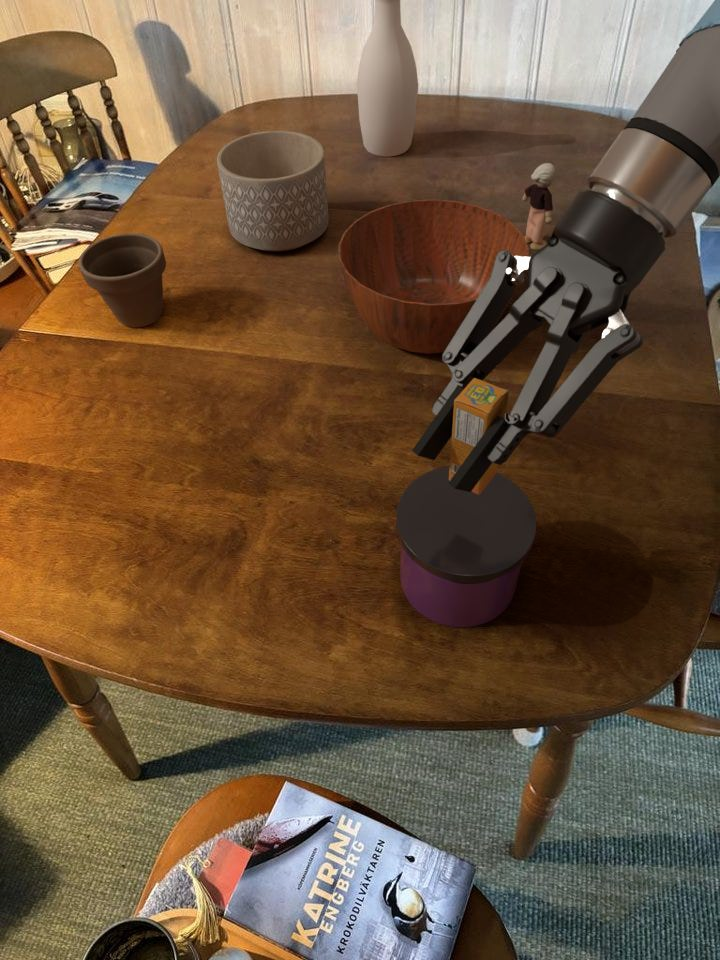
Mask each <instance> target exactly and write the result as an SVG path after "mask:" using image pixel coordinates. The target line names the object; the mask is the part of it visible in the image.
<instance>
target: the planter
mask: <svg viewBox="0 0 720 960" xmlns="http://www.w3.org/2000/svg"><path fill="white" fill-rule="evenodd" d="M216 165H217V170H218V175H219V181H220V187H221V191H222V192H221V193H222V197H223V202H224V208H225V213H226V220H227V226H228V230H229V233H230V235H231V236H232V238H233V239H235V240H236V242H238V243H240V244H242V245H244V246H246V247H249V248H252V249H255V250H260V251H263V252H286V251H291V250H292V251H293V250H295V249H298V248H302V247H303V246H305V245H308V244H309V243H312V242H313V241H315V240H317V239H318V238H319V237H320V236H322V235H323V234H324V232H325V231H326V230H327V229H328V228H327V227H328V226H329V208H328V207H329V206H328V205H329V204H328V192H327V191H328V189H327V175H326V161H325V152H324V147H323V145H322V143H320V141H318V140H317V139H316V138H314V137H312V136H310V135H307V134H305V133H301V132H297V131H292V130H291V131H290V130H263V131H258V132H253V133H249V134H246V135H242V136H240V137H237V138H235V139H233V140H231V141H229V142H228V143H226V144H225V145H224V146H223V147H221V149H220V150H219V152H218V154H217V156H216Z"/></svg>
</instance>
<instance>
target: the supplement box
mask: <svg viewBox="0 0 720 960" xmlns="http://www.w3.org/2000/svg"><path fill="white" fill-rule="evenodd" d="M509 395H510V391H509V390H508V389H506V388H503V387H499V386H497V385H495V384H492V383H490V382H487V381H485V380H483V381H482V380H479V379H477V378H474V379H473V380H472V381H471V382H470V383H469V384H468V385H467V386H466V388H465V389H464V390H463V391H462V392H461V393H460V394H459V396H458V397H457V398H456V399H455V400H454V413H453V427H452V436H451V441H450V443H451V444H450V457H449V466H450V470H449V481H450V480H451V479H452V477H453V476H454V475H455V473H456V472H457V470H458V469H459V468H460V466H461V465H462V464H463V462H464V461H465V459H466V458H467V457H468V455H469V454H470V453H471V451H472V450H473V448H474V447H475V446H476V444H477V443H478V442H479V440H480V439H481V437H482V436H483V435H484V433H485V432H486V431H487V429H488V428H489V426H490V425H491V424H492V422H493V421H494V420H495V418H496V417H497V415H498V416H500V417H502V418H504V419H505V413H506V414H507V408H508V403H509ZM498 467H499V464H496V463H492V464H491V465H490V467H489V468H488V469H487V471H486V472H485V473H484V475H483V476H482V478H481V479H480V480H479V482H478V483H477V484H476V486H475V487H474V488H473V490H472V491H471V492H473V493H475V494H477V495H480V494H481V492H482V491H483V490H484V489H485V487H486V486H487V485H488V483H489V482H490V481H491V479H492V478H493V477H494V475H495V474H496V473H498Z"/></svg>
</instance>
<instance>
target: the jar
mask: <svg viewBox="0 0 720 960" xmlns="http://www.w3.org/2000/svg"><path fill="white" fill-rule="evenodd" d="M449 470H450V465H447V466H446V465H445V466H441V467H437V468H434V469H432V470H429V471H427V472H425V473H423V474H421V475H419V476H418V477H417V478H415V479H414V480H413V481H411V483H410V484H409V485H408V486H407V487H406V488H405V490H404V491H403V492H402V494H401V495H400V498H399V500H398V503H397V507H396V516H395V526H396V533H397V538H398V540H399V542H400V557H399V559H400V561H399V563H400V564H399V579H400V586H401V589H402V592H403V594H404V596H405V598H406V599H407V601H408V603H409V604H410V605H411V606H412V608H414V609H415V610H416V612H418V613H419V614H420V615H422V616H423V617H424V618H426V619H428V620H430V621H432V622H434V623H437V624H439V625H442V626H446V627H452V628H472V627H477V626H481V625H484V624H486V623H488V622H490V621H493V620H494V619H496V618H497V617H499V616H500V615H501V614H502V613H503V612H505V610H506V609H507V608H508V607H509V605H510V604H511V602H512V600H513V598H514V596H515V592H516V588H517V584H518V580H519V577H520V574H521V573H520V572H521V569H522V565H523V562H524V561H525V560H526V559H527V558H528V555H529V554H530V552H531V550H532V548H533V545H534V542H535V538H536V533H537V524H538V523H537V516H536V513H535V508H534V506H533V505H532V502H531V500H530V499H529V497H528V496H527V494H526V493H525V492H524V491H523V490H522V489H521V487H520V486H518V485H517V484H516V482H514V481H512V480H511V479H510V478H508V477H506V476H504V475H503V474H502V473H499V472H497V473H496V474H495V475H494V477H493V478H492V479H491V481H490V482H489V483H488V485H487V486H486V487H485V489H484V490H483V491H482V492H481V494H480V495H477V494H475V493H473V492H467V491H463V490H458V489H455V488H454V487H452V486H451V485H450V484H449Z"/></svg>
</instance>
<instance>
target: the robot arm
mask: <svg viewBox="0 0 720 960" xmlns="http://www.w3.org/2000/svg"><path fill="white" fill-rule="evenodd" d="M719 178H720V0H714V1H713V2H712V3H711V4H710V6H709V7H708V8H707V10H706V11H705V12H704V14H703V15H702V16H701V18H700V19H699V20H698V21H697V22H696V24H695V25H694V26H693V28H692V29H691V30H690V31H688V32H687V34H686V35H685V36H684V37H683V38H682V39H681V40H680V42H679V43H678V48H677V49H676V50H675V54H674V55H673V56H672V57H671V60H670V61H669V62H668V63H667V65H666V67H665V68H664V69H663V71H662V73H661V74H660V76H659V77H658V79H657V81H656V82H655V83H654V85H653V86H652V88H651V89H650V91H649V92H648V93H647V95H646V97H645V98H644V99H643V101H642V103H641V104H640V106H639V107H638V108H637V110H636V111H635V113H634V115H633V116H632V117H631V118H630V119H629V121H628V122H627V123H626V124H625V126H624V128H623V129H622V130H621V131H620V133H619V134H618V135H617V137H616V138H615V139H614V141H613V142H612V143H611V145H610V147H609V148H608V150H607V151H606V152H605V154H604V155H603V156H602V158H601V160H600V161H599V162H598V164H597V165H596V166H595V168H594V169H593V170H592V172H591V174H590V175H589V176H588V178H587V182H588V183H587V184H588V189H584V190H583V191H579V192H578V193H577V194H576V195H575V198H573V200H572V201H571V203H569V206H568V207H567V209H566V210H565V211H564V213H563V214H562V216H561V217H560V219H559V220H558V221H557V223H556V225H555V226H554V227H553V230H552V233H551V236H550V238H549V239H548V241H547V242H546V243H547V244H546V245H545V246H543V247H542V248H541V249H539V250H535V252H533V253H532V255H530V256H528V257H526V256H513V255H512V254H511V253H509V252H508V251H507V250H502V251H500V252H499V253H498V254H497V256H496V259H495V263H494V266H493V270H492V274H491V277H490V279H489V281H488V282H487V284H486V285H485V287H484V289H483V290H482V292H481V293H480V295H479V297H478V298H477V300H476V301H475V303H474V305H473V306H472V308H471V309H470V311H469V313H468V314H467V316H466V317H465V319H464V321H463V322H462V324H461V325H460V327H459V329H458V330H457V332H456V333H455V335H454V337H453V338H452V340H451V341H450V343H449V345H448V346H447V348H446V349H445V351H444V353H442V355H441V359H442V362H443V363H445V364H446V365H447V367H448V369H449V370H450V373H451V378H450V381H449V382H448V384H447V385H446V387H445V388H444V389H443V391H442V392H441V394H440V396H439V397H438V398H437V400H436V401H435V403H434V404H433V405H432V409H431V413H432V414H434V416H435V417H434V419H433V420H432V421H431V422H430V424H429V426H428V427H427V428H426V429H425V431H424V433H423V434H422V435H421V437H420V438H419V440H418V441H417V443H416V444H415V445H414V447H412V450H411V451H412V452H413V453H414V454H415V455H416V456H418V457H420V458H425V459H427V460H431V461H435V460H436V459H437V457H438V456H439V455H440V453H441V452H442V450H443V449H444V448H445V446H446V445H447V444H448V442H449V441H450V440H451V439H452V427H453V413H454V400H455V399H456V398H457V397H458V396H459V394H460V393H461V392H462V391H463V390H464V389H465V388H466V386H467V385H468V384H469V383H470V382H471V381H472V380H473V379H474V378H477V379H479V380H482V381H485V379H486V378H487V377H488V376H489V375H490V374H491V373H492V372H493V371H494V370H495V369H496V368H497V366H499V365H500V364H501V362H503V361H504V359H506V358H507V356H509V354H511V353H512V352H513V350H514V349H516V347H518V346H519V344H520V343H521V342H522V341H524V339H526V337H527V336H528V335H529V334H531V332H533V331H536V330H538V329H540V327H541V326H542V325H544V323H545V324H548V325H550V326H549V328H548V330H547V333H546V341H545V343H544V345H543V347H542V349H541V351H540V353H539V355H538V358H537V359H536V361H535V363H534V365H533V368H532V369H531V370H530V371H531V372H529V375H528V377H527V379H526V381H525V383H524V385H523V387H522V389H521V390H520V393H519V395H518V397H517V399H516V401H515V403H514V405H513V407H512V409H511V410H510V414H508V413H507V412H506V413H505V419H504V418H502V417H500V416H498V415H497V417H496V418H495V420H494V421H493V422H492V424H491V425H490V426H489V428H488V429H487V431H486V432H485V433H484V435H483V436H482V437H481V439H480V440H479V442H478V443H477V444H476V446H475V447H474V448H473V450H472V451H471V453H470V454H469V455H468V457H467V458H466V459H465V461H464V462H463V464H462V465H461V466H460V468H459V469H458V470H457V472H456V473H455V475H454V476H453V477H452V479H451V480H450V481H449V484H450V485H451V486H452V487H454V488H455V489H458V490H463V491H467V492H471V491H472V490H473V488H474V487H475V486H476V484H477V483H478V482H479V480H480V479H481V478H482V476H483V475H484V473H485V472H486V471H487V469H488V468H489V467H490V465H491V464H492V463H496V464H498V466H501V465H503V464H505V463H506V462H507V461H508V460H509V458H510V457H511V455H512V454H513V453H514V451H515V450H516V449H517V448H518V446H519V445H520V444H521V442H522V441H523V440H524V439H525V437H526V436H527V435H530V434H536V435H539V436H543V437H546V438H550V439H552V438H555V436H557V435H558V434H559V432H560V431H561V430H562V429H563V428H564V426H566V424H567V423H568V422H569V421H570V419H571V418H572V417H574V414H575V413H576V412H577V411H578V410H579V409H580V407H581V406H582V405H583V404H584V403H585V401H586V400H587V399H588V398H589V396H591V394H592V393H593V392H594V391H595V389H596V388H597V387H598V386H599V385H600V384H601V382H602V381H603V380H604V379H605V378H606V377H607V375H608V374H609V373H610V371H611V370H612V369H614V367H615V366H616V364H617V363H618V362H620V361H621V360H623V359H624V358H626V357H627V356H629V355H631V354H632V353H634V352H635V351H637V350H638V349H641V347H642V345H643V344H644V338H643V336H642V335H641V334H640V332H639V331H638V330H637V329H636V328H635V327H634V326H633V325H632V324H631V322H630V320H629V319H628V317H627V316H626V315H625V312H626V311H627V308H628V302H629V299H630V296H631V294H632V292H634V290H635V289H636V288H637V287H638V286H639V285H640V284H641V282H642V281H643V280H644V279H645V277H646V276H647V274H648V273H649V272H650V270H651V269H652V268H653V267H654V265H655V264H656V262H657V261H658V260H659V258H660V257H661V256H662V254H663V253H664V252H665V250H666V241H665V239H666V238H672V237H676V236H677V234H678V233H679V231H680V230H681V229H682V227H683V226H684V225H685V223H686V222H687V220H688V219H689V218H690V216H691V215H692V213H694V211H695V210H696V208H697V207H698V206H699V204H700V203H701V201H703V199H704V197H705V196H706V195H707V194H708V192H709V191H710V189H712V188H713V186H715V184H716V182H717V181H718V179H719ZM526 277H527V279H526V289H525V291H524V292H523V293H522V294H521V295H520V296H519V297H518V299H517V300H516V301H514V303H513V304H512V305H511V307H510V311H509V312H508V314H506V316H505V317H504V318H502V320H501V321H500V322H499V323H498V324H497V323H496V321H497V320H498V318H499V317H500V315H501V314H502V312H503V311H504V309H505V307H506V306H507V304H508V303H509V301H510V300H511V301H512V299H513V298H512V296H513V294H514V292H515V290H516V287H517V285H522V284H524V282H525V278H526ZM516 291H517V290H516ZM515 293H516V292H515ZM514 295H515V294H514ZM513 297H514V296H513ZM511 298H512V299H511ZM511 301H510V302H511ZM509 304H510V303H509ZM509 304H508V305H509ZM507 307H508V306H507ZM505 310H506V309H505ZM504 312H505V311H504ZM504 312H503V313H504ZM502 315H503V314H502ZM500 318H501V317H500ZM498 321H499V320H498ZM495 323H496V324H497V325H496V324H495ZM606 324H607V326H606V327H605V328H604V329H603V331H602V333H601V338H600V339H599V340H598V341H597V342H596V343H595V344H594V345H593V346H592V347H591V348H590V349H589V351H588V352H587V353H586V354H585V356H584V357H583V358H581V360H580V361H579V363H578V364H577V365H576V367H575V368H574V369H573V370H572V371H571V373H570V374H568V377H566V379H565V380H564V381H563V382H562V383H561V384H560V386H559V387H558V389H557V390H555V388H556V387H557V385H558V383H559V380H560V379H561V377H562V374H563V373H564V371H565V369H566V367H567V365H568V363H569V361H570V359H571V356H572V355H573V354H575V353H576V352H577V351H578V349H579V347H580V345H581V343H582V341H583V339H584V338H585V336H586V334H587V332H590V331H592V330H595V329H597V328H600V327H601V326H604V325H606ZM495 325H496V326H495ZM493 326H494V327H493ZM554 391H555V392H554ZM553 392H554V393H553ZM552 394H553V395H552Z"/></svg>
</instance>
